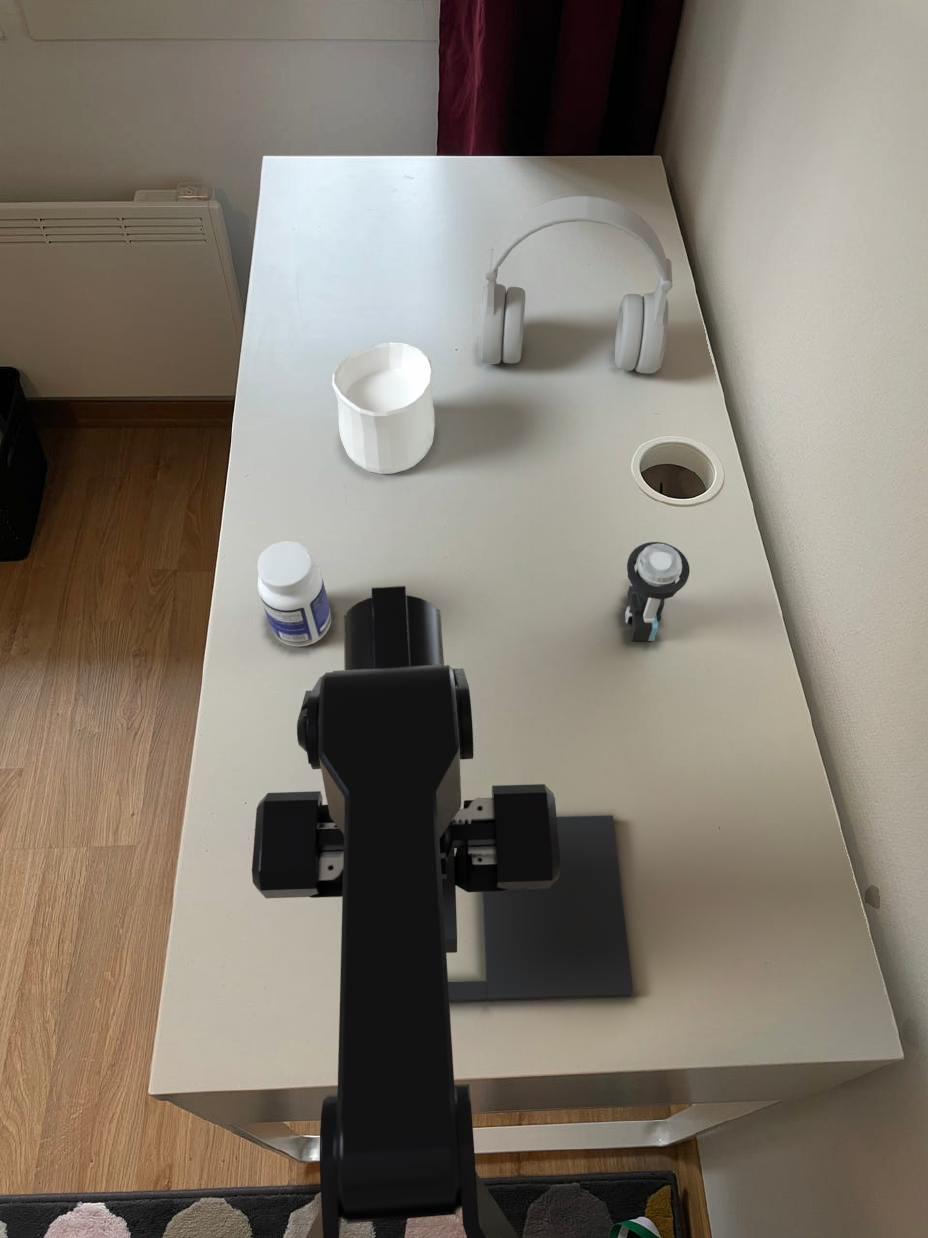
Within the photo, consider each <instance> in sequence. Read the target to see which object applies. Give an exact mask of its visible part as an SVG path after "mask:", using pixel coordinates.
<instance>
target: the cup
mask: <svg viewBox="0 0 928 1238" xmlns="http://www.w3.org/2000/svg"><path fill="white" fill-rule="evenodd" d="M433 379H434V369H433V365H432V361H431V359H430V358H429V357H428V356H427V355H426V354H425V353H424V352H423V351H422V350H420V348H418V347H415V346H412V345H410V344H407V343H404V342H393V341H389V342H384V343H378V344H373V345H372V346H369V347H366V348H363V349H361V350H359V351H357V352H355V353H353V354H352V355H349V356H348V357H346V358H345V359H344V360H342V361H341V362H340V363H339V364H338V365H337V367H336V368H335V370H334V372H333V374H332V380H331V381H332V388H333V390H334V393H335V396H336V399H337V406H338V430H339V434H340V435H339V436H340V441H341V443H342V445H343V447H344V450H345V452H346V454H347V456H348V457H349V458H350V459H351V460H352V461H353V462H354V463H355V464H356V465H357V466H359V467H361V468H362V469H364V470H365V471H368V472H370V473H374V474H378V475H391V474H393V475H394V474H396V473H400V472H404V471H408V470H409V469H411V468H413V467H415V466H416V465H417V464H418V463H419V462H420V461H422V460H423V459H424V458H425V457H426V455H427V454H428V452H429V450H430V449H431V448H432V445H433V441H434V436H435V429H436V426H435V424H436V422H435V421H436V420H435V419H436V418H435V408H434V401H433Z"/></svg>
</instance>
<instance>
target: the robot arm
mask: <svg viewBox="0 0 928 1238" xmlns="http://www.w3.org/2000/svg"><path fill="white" fill-rule="evenodd" d="M406 587H407V586H406V585H394V586H376V587H375V586H374V587H372V588H371V597H369V598H365V599H363V600H360V601H359V602H357V603H356V604H354V605H351V607H350V608H349V609H348V610H347V611H346V613H345V615H343V661H344V662H343V664H344V665H343V666H344V667H343V670H332V671H329V672H327V671H326V672H325V673H324V674H323V675H322V676H320V677H319V679H318V680H317V681H316V683H315V685H314V687H312V690H311V689H310V690H305V693H304V696H303V700H302V703H301V707H300V711H299V714H298V719H297V721H296V736H297V738H296V739H297V743H298V746H299V747H300V748H301V749H302V750H303V751H305V753H306V755H307V763H308V764H309V765H310V768H311V769H312V770H321V774H322V775H321V776H322V782H323V787H324V792H325V797H326V804H323V798H324V797H323V795H322V791H321V790H319V791H318V790H315V791H314V790H313V791H282V792H281V791H280V792H279V791H278V792H267V793H266V794H265V796H263V798H262V799H261V800H260V801H259V802H258V805H257V807H256V812H255V826H254V838H253V849H252V850H253V851H252V862H251V863H252V865H251V876H252V877H251V879H252V884H253V885H254V887H255V889H256V890H257V891H258V892H259V893H260V894H261V895H262V896H263V897H264V898H265V899H289V898H290V899H291V898H292V899H293V898H311V899H317V898H319V899H320V898H341V899H342V900H341V936H340V937H341V941H340V978H339V979H340V981H339V982H340V983H339V1018H338V1058H337V1063H338V1064H337V1094H327V1095H325V1096H324V1098H323V1100H322V1106H321V1113H320V1125H319V1126H320V1128H319V1185H320V1186H319V1187H320V1203H321V1204H320V1207H319V1210H318V1211H317V1213H316V1216H315V1218H314V1219H313V1222H312V1224H311V1226H310V1228H309V1229H308V1232H307V1234H306V1236H305V1238H340V1236H341V1235H340V1234H341V1227H342V1220H343V1221H344V1222H345V1223H346V1224H347V1225H348V1224H360V1223H361V1224H362V1223H370V1222H383V1221H395V1220H396V1221H397V1220H406V1219H407V1220H408V1219H419V1218H430V1217H431V1218H432V1217H440V1216H441V1217H442V1216H453V1215H457V1213H458V1212H459V1211H460V1210H461V1217H462V1227H463V1230H464V1233H465V1236H466V1238H520V1237H519V1235H518V1234H517V1232H516V1231H515V1229H514V1227H513V1226H512V1225H511V1223H510V1221H509V1220H508V1219H507V1216H506V1215H505V1214H504V1212H503V1211H502V1209H501V1208H500V1206H499V1205H498V1203H497V1201H496V1200H495V1199H494V1197H493V1195H492V1194H491V1192H490V1190H489V1189H488V1188H487V1186H486V1184H485V1183H484V1181H483V1180H482V1178H481V1176H479V1174H478V1173H477V1172H478V1171H476V1157H475V1139H474V1126H473V1125H474V1123H473V1112H472V1099H471V1090H470V1089H471V1088H470V1083H463V1084H462V1083H461V1084H455V1073H454V1072H455V1071H454V1057H453V1056H454V1055H453V1041H452V1037H453V1036H452V1022H451V1007H450V1003H449V989H448V982H449V975H448V973H449V972H448V958H447V953H446V940H445V924H444V908H443V892H442V879H447V870H446V863H447V856H448V854H449V852H450V850H451V848H454V849H456V850H455V883H456V887H458V888H459V889H461V890H463V891H464V892H466V893H483V892H497V891H507V890H527V889H550V888H551V887H552V886H553V885H554V883H555V882H556V881H557V880H558V878H559V875H560V850H559V838H558V827H557V817H558V816H557V805H556V797H555V794H554V792H553V791H552V790H551V789H550V788H549V787H548V786H547V785H546V784H545V783H538V784H537V783H536V784H535V783H531V784H508V785H505V784H504V785H503V784H501V785H492V786H491V797H477V798H475V799H466V800H463V808H462V784H461V783H462V782H461V781H462V779H461V778H462V777H461V760H474V728H473V714H472V713H473V712H472V702H471V701H472V700H471V692H470V691H471V690H470V685H469V683H468V679H467V676H466V675H467V674H466V673H465V669H464V668H463V667H462V668H453V667H451V666H450V664H445V658H444V657H445V656H444V644H443V630H442V629H443V627H442V616H441V609H438V608H437V607H436V606H435V605H434V604H432V603H431V602H430V601H428V600H426V599H423V598H421V597H417V596H412V595H409V594H407V588H406ZM459 821H461V823H462V824H459ZM453 822H455V825H453Z"/></svg>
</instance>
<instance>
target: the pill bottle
mask: <svg viewBox="0 0 928 1238" xmlns="http://www.w3.org/2000/svg"><path fill="white" fill-rule="evenodd" d="M256 568H257V572H258V576H257V577H258V578H257V592H258V594H259V598H260V600H261V603H262V607H263V609H264V612H265V614H266V618H267V621H268V624H269V626H270V629H271V631H272V633H273V635H274V636H275V637H276V638H277V639H278V640H279V641H280V642H281V643H283V644H285V645H287V646H291V647H306V646H309V645H312V644H315V643H317V642H318V641H319V640H321V639H322V638H323V637H324V636H325V635H326V634H327V633H328V631H329V629H330V627H331V623H332V611H331V608H330V603H329V599H328V594H327V591H326V588H325V587H326V586H325V583H324V579H323V574H322V572H321V569H320V567H319V566H318V565H317V563H316V562H315V561H314V560H313V558H312V554H311V552H310V551H309V549H308V548H307V547H306V546H305V545H304V544H302V543H299V542H298V541H297V542H296V541H291V540H284V541H279V542H275V543H273V544H271V545H269V546H268V547H266V548H265V549H264V550H263V551H262V552H261V554H260V556H259V557H258V561H257V567H256Z"/></svg>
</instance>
